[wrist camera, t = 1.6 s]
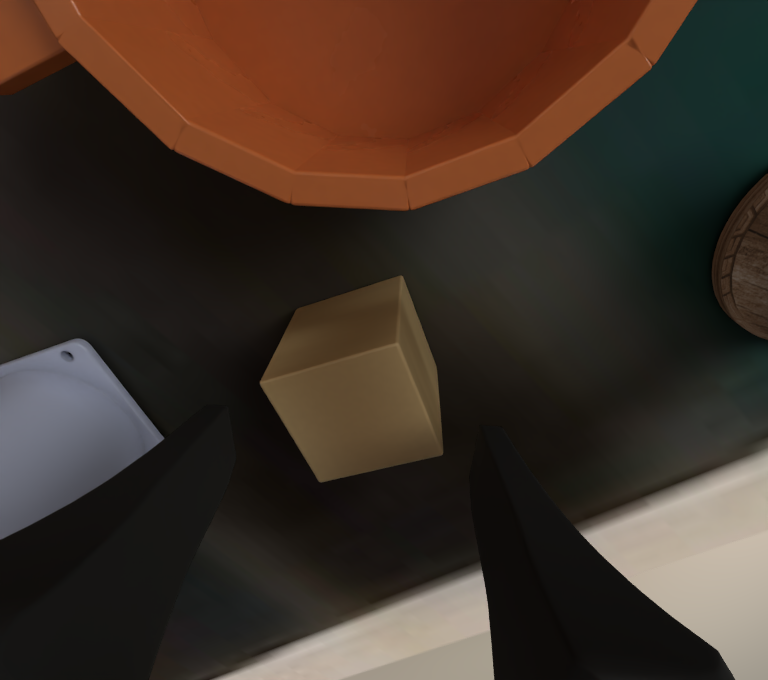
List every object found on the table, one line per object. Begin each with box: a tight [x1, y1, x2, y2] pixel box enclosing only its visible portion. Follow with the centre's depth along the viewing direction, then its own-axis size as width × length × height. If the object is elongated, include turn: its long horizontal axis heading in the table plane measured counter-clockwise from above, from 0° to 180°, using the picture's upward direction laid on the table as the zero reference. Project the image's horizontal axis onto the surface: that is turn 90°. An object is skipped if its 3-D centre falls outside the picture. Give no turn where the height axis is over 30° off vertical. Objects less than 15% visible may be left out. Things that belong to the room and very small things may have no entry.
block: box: [260, 276, 443, 482], centre depth 16 cm, size 4×4×5 cm
